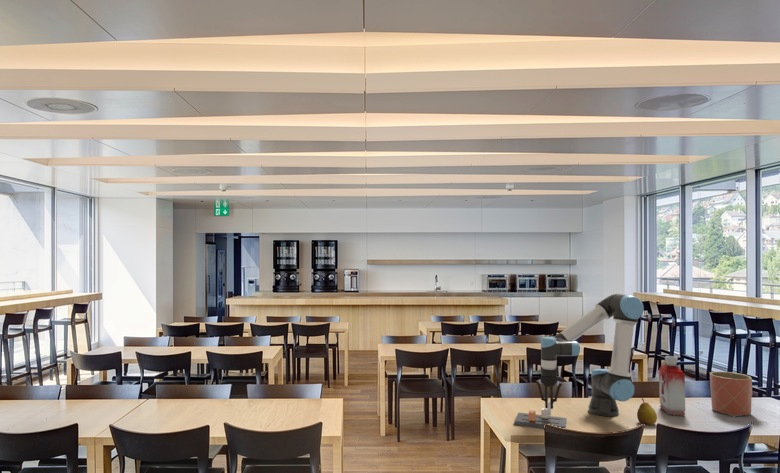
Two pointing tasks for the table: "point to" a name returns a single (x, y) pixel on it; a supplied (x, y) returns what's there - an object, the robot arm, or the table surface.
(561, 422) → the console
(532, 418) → the fader orange
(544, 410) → the fader grey
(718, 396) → the planter
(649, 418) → the fruit
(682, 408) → the bottle
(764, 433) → the table surface
